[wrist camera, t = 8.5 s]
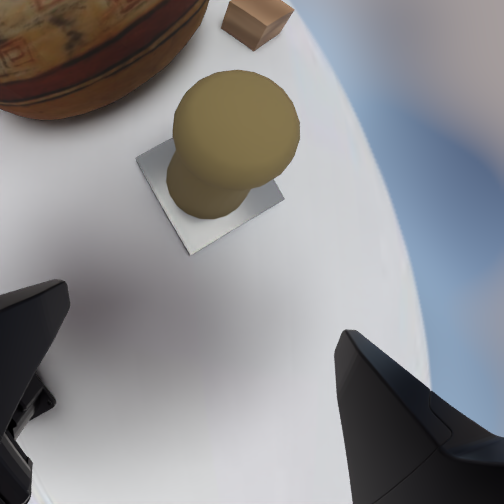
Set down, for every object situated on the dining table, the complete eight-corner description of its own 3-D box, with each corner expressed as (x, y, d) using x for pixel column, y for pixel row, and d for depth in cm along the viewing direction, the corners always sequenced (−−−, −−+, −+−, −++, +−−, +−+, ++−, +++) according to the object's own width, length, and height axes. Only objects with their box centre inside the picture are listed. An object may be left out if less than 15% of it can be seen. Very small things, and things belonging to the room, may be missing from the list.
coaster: (190, 255, 21) (190, 255, 20) (136, 161, 20) (135, 158, 19) (281, 200, 23) (284, 199, 22) (229, 113, 21) (231, 109, 21)
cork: (194, 123, 20) (218, 27, 9) (264, 164, 21) (343, 102, 11) (150, 193, 19) (126, 139, 9) (225, 235, 21) (281, 226, 10)
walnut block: (253, 51, 22) (266, 26, 18) (220, 28, 21) (229, 1, 17) (279, 34, 22) (294, 9, 18) (248, 12, 21) (259, -14, 18)
